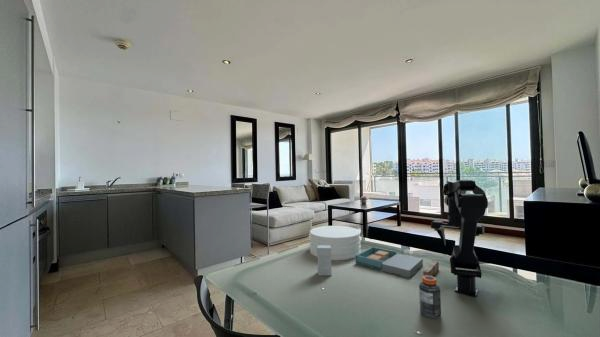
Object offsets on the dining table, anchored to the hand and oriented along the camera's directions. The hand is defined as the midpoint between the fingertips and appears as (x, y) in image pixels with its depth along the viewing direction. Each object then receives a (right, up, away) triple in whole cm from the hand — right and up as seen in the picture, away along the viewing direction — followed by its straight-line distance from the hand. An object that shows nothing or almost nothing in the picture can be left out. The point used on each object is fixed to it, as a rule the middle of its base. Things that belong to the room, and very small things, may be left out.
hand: (456, 247), depth 108 cm
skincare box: (-56, -13, +5) cm, 57 cm away
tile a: (-31, -12, +14) cm, 36 cm away
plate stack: (-47, -14, +35) cm, 60 cm away
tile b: (-25, -12, +20) cm, 34 cm away
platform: (-19, -13, +9) cm, 25 cm away
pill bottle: (-26, -13, -28) cm, 40 cm away
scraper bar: (-10, -13, +1) cm, 16 cm away
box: (-29, -13, +18) cm, 36 cm away
